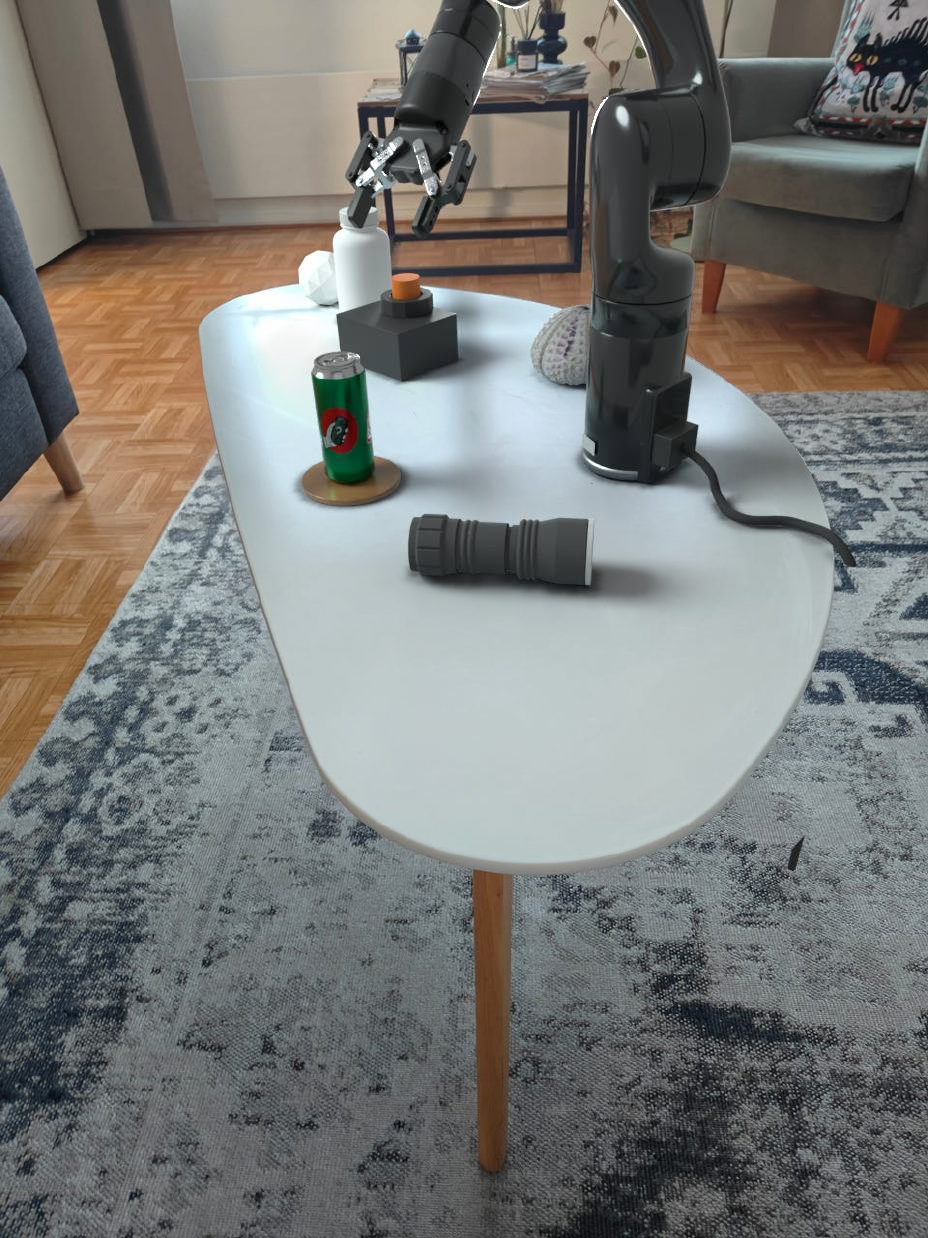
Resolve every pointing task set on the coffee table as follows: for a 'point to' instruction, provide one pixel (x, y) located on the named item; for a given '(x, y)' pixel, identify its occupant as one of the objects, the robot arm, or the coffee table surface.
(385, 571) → the coffee table surface
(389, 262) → the pill bottle
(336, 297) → the geometric ball
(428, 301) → the push button base
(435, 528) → the flashlight
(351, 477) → the soda can
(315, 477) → the coaster
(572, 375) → the sea urchin shell
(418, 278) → the button
